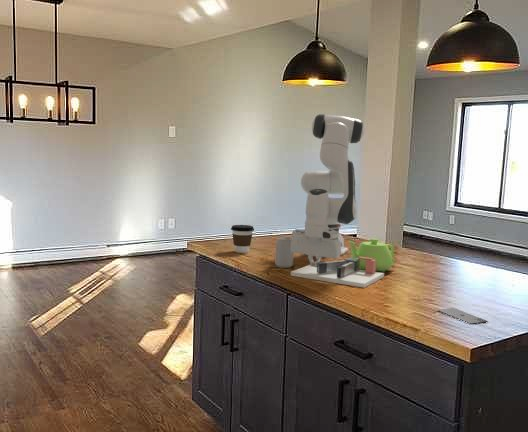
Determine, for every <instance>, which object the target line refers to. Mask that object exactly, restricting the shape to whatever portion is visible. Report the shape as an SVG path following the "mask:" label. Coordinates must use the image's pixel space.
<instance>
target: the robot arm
mask: <svg viewBox="0 0 528 432" xmlns="http://www.w3.org/2000/svg"><path fill="white" fill-rule="evenodd" d="M311 131H312V135H313V136H314V137H315V138H316V139H320V140H321V139H322V141H321V144H320V145H321V146H320V152H319V159H320V162H321V163H322V165H323V166H324V167H325V168H326V169H328V170H310V171H306V172H304V173H303V174H302V176H301V180H300V186H301V188H302V190H303V191H304V193H306V194H307V197H306V203H305V215H306V216H305V217H306V218H305V221H304V229H297V228H296V229H294V230H293V231H292V233H291V238H292V241H291V248H290V250H291V252H293V254H301V255H307V259H308V260H309V265H310V266H311V267H317V263H320V261H321V260H322V258H328V259H338V258H340V256H344V255H345V254H346V253H347V252H348V251H349V248H348V247H345V246H344V245H345V243H344V242H345V239H344V237H343V236H342V234H341V233H340V232H339V231H340V229H341V227H342V226H341V225H342V224H344V225H348V224H351V223H352V222H353V221H354V220H355V219H356V218H357V217H356V216H357V211H358V209H357V204H356V203H357V201H356V178H355V166H354V163H353V161H352V160H350V158H349V155H348V153H349V152H348V151H349V143H350V144H357V143H359V142H360V141H361V139H362V138H363V136H364V133H365V129H364V123H363V122H362V120H360V119H358V118H351V117H348V116H343V115H334V114H324V113H322V114H320V113H319V114H317V115H316V116H315V118H314V119H313V121H312V124H311ZM329 195H343V196H342V197H331V196H329ZM314 257H315V259H316V260H315V261H314Z"/></svg>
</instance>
